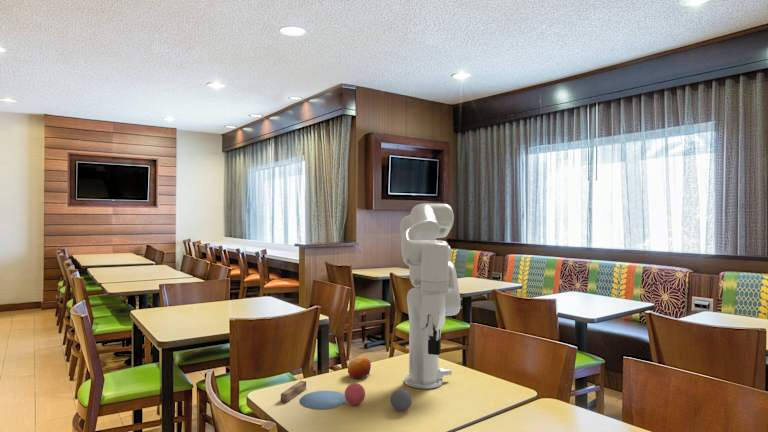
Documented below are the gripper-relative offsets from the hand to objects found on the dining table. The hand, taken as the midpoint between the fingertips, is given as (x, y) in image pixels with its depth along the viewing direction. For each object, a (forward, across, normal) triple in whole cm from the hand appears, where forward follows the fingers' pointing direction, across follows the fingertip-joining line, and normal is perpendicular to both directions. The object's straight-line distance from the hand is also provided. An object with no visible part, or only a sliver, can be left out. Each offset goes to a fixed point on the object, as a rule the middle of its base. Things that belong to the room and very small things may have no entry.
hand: (434, 353), depth 134 cm
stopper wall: (+17, 0, -44) cm, 47 cm away
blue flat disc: (+17, 0, -34) cm, 38 cm away
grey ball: (+14, 0, -10) cm, 17 cm away
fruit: (+17, -23, -31) cm, 43 cm away
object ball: (+14, 0, -24) cm, 27 cm away
